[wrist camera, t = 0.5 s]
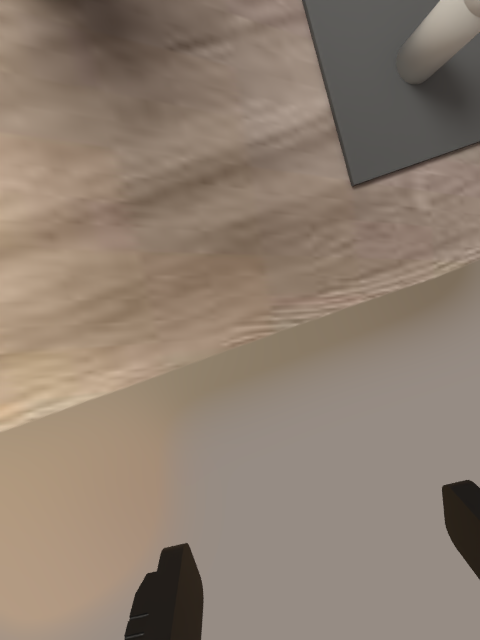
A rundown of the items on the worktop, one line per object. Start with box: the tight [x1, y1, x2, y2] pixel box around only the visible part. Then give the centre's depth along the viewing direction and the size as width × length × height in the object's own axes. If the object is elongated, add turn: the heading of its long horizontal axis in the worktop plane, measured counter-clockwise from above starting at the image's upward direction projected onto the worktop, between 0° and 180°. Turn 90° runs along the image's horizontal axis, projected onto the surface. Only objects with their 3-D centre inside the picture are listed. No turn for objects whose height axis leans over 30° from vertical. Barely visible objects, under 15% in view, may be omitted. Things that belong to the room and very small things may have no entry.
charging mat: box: [302, 0, 480, 186], centre depth 34 cm, size 20×20×1 cm
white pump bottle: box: [396, 0, 480, 84], centre depth 28 cm, size 4×4×12 cm
